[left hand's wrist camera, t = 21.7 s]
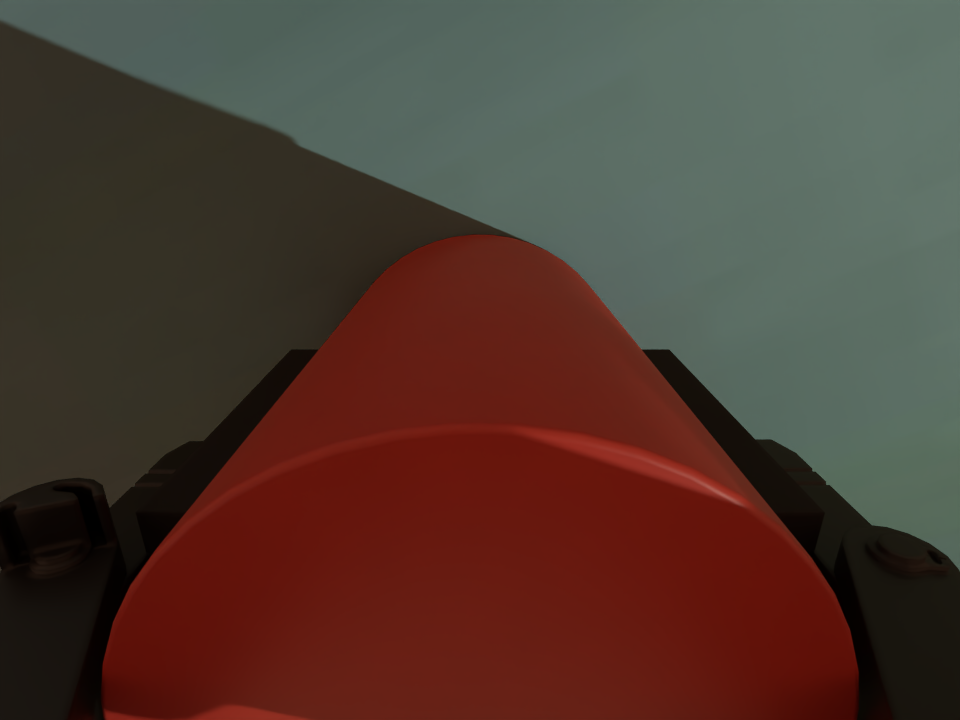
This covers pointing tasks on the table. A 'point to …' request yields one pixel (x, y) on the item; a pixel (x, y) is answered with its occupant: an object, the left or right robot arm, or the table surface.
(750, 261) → the table surface
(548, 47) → the table surface
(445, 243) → the canister
